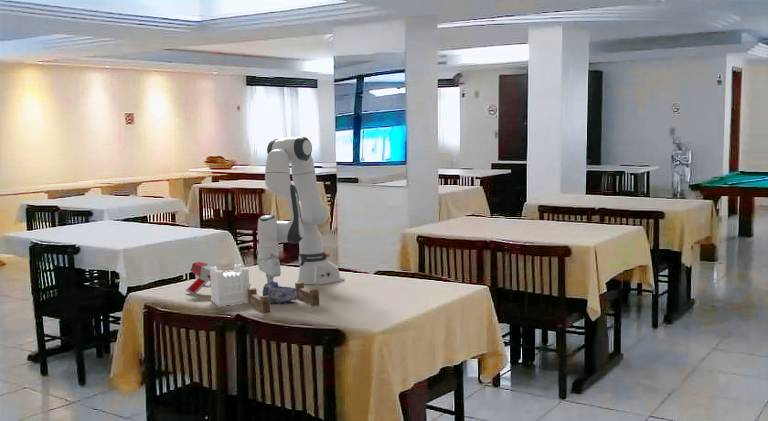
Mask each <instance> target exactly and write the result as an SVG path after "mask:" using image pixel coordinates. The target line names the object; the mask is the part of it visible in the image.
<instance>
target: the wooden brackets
mask: <svg viewBox="0 0 768 421" xmlns="http://www.w3.org/2000/svg"><path fill="white" fill-rule="evenodd" d="M294 286H295V287H294V288H296V291H295V293H297V299H299V300H301V301H303V302H305V303H308V304H309V305H310V306H312V307H314V306H315V307H316V306H320V302H321V301H320V289H318V288H314V289H308V288H305V284H304V283H303V282H299V283H298V282H295V283H294ZM257 291H258V290H257V288H256V287H253V288H251V287H250V288H249V289H248V303H247V304H248V305H249V304H251V305H250V306H252V305H253V306H252V307H253V308H255V307H256V308H255V309H257V310H258V311H260V313H262V314H265V313H271V303H270V296H268V295H267V296H263V295H259V294H258V292H257Z"/></svg>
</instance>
